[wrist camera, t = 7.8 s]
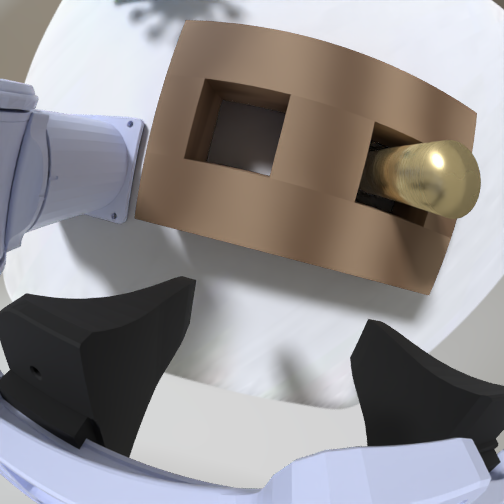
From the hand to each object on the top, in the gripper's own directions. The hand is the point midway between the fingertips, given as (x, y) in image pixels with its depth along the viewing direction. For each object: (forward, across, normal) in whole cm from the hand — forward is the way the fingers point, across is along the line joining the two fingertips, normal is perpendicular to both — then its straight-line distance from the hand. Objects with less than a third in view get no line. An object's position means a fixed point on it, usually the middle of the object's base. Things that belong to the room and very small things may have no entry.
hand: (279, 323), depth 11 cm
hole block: (+10, -1, -7) cm, 12 cm away
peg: (+10, -5, -7) cm, 13 cm away
